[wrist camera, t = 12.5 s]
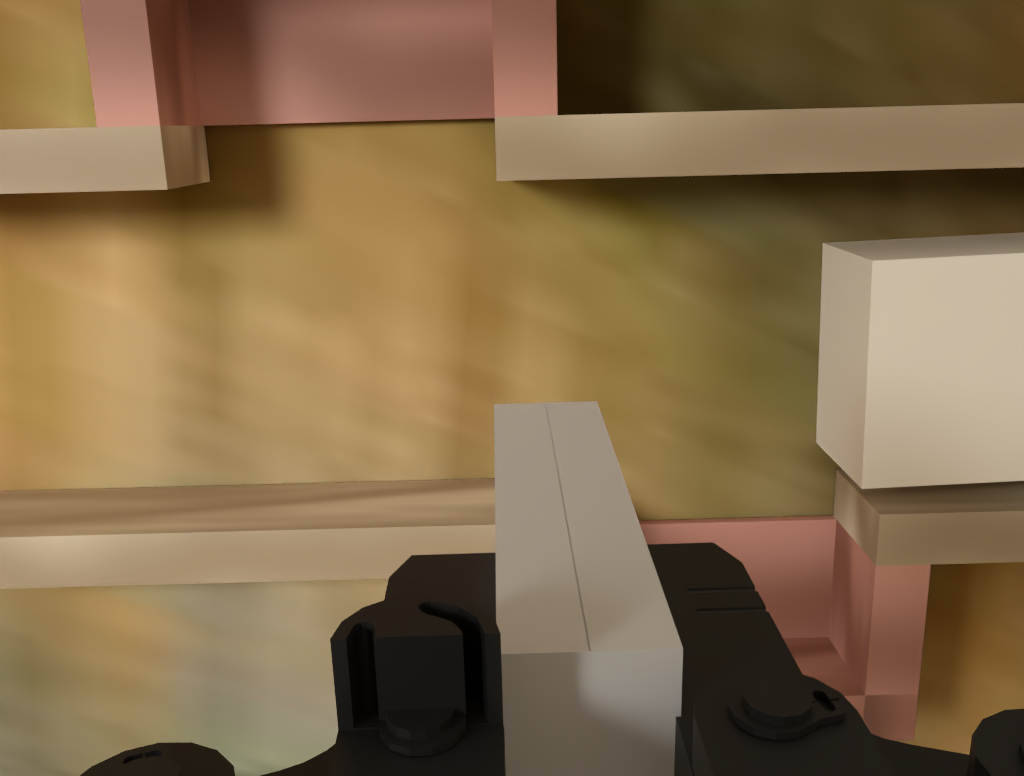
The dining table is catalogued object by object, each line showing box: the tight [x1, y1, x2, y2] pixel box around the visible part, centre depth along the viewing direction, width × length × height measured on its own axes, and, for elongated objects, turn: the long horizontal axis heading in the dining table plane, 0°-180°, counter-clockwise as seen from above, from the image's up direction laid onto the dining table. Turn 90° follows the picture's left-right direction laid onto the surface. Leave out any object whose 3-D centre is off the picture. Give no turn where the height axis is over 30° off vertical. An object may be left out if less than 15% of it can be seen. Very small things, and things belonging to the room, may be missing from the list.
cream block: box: [816, 232, 1024, 489], centre depth 26 cm, size 6×6×4 cm
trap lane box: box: [0, 0, 1024, 741], centre depth 25 cm, size 23×34×6 cm
